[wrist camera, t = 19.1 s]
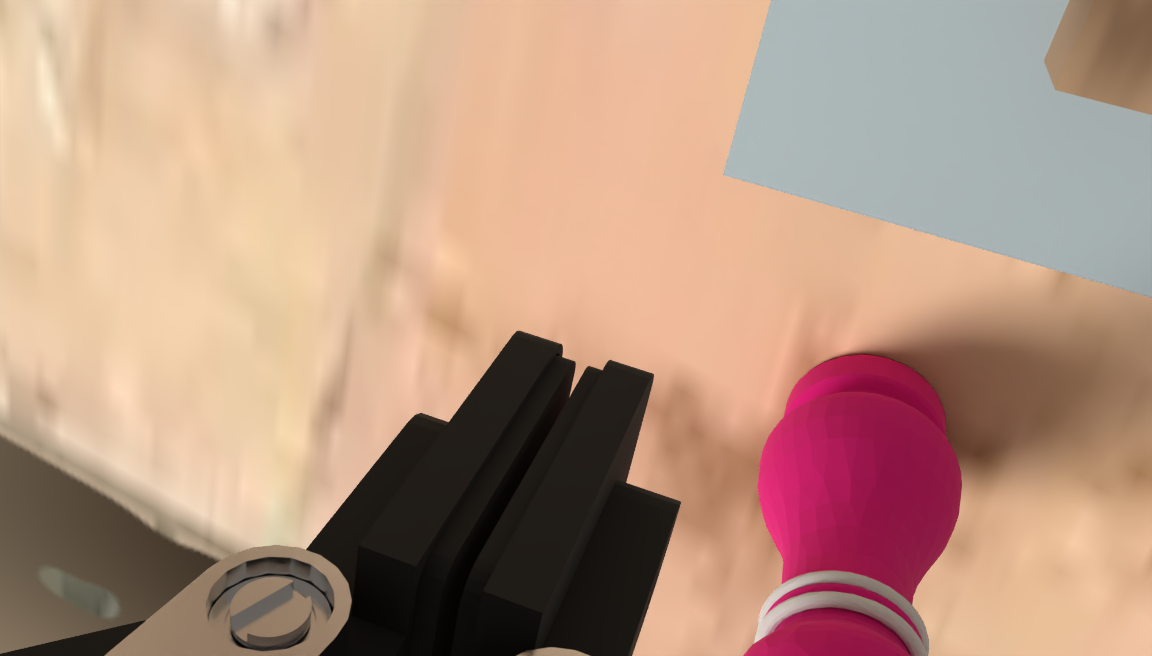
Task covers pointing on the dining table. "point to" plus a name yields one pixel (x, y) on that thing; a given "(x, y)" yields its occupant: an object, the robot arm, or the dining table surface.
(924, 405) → the pepper mill
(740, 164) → the board
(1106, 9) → the walnut slab
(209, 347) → the dining table surface
